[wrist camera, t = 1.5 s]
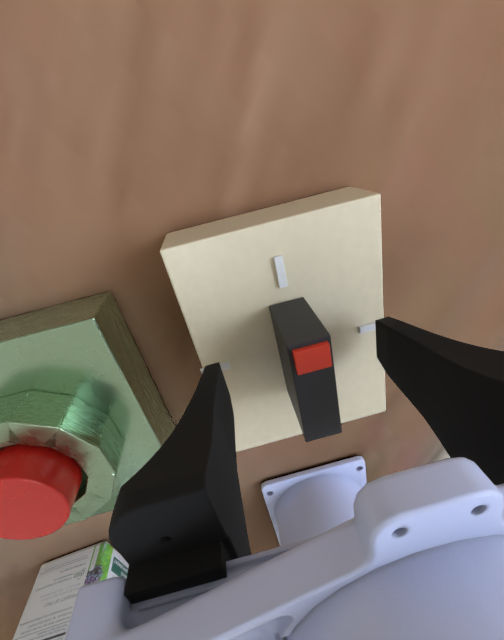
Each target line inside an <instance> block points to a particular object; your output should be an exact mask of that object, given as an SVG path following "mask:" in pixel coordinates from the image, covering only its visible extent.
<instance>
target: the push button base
mask: <svg viewBox="0 0 504 640" xmlns="http://www.w3.org/2000/svg"><path fill="white" fill-rule="evenodd" d="M174 429H175V426H174V424H173V422H172V420H171V418H170V416H169V413H168V411H167V409H166V407H165V405H164V403H163V401H162V399H161V397H160V394H159V392H158V390H157V388H156V386H155V384H154V382H153V380H152V378H151V375H150V373H149V371H148V369H147V367H146V365H145V363H144V361H143V359H142V356H141V354H140V352H139V350H138V348H137V346H136V344H135V342H134V339H133V337H132V335H131V333H130V331H129V329H128V327H127V325H126V323H125V320H124V318H123V316H122V314H121V312H120V310H119V308H118V306H117V304H116V301H115V299H114V297H113V295H112V293H111V292H106V293H102V294H98V295H94V296H90V297H86V298H83V299H79V300H75V301H71V302H67V303H63V304H60V305H56V306H52V307H48V308H44V309H40V310H36V311H33V312H29V313H25V314H21V315H17V316H13V317H10V318H6V319H2V320H0V449H2V448H5V447H8V446H11V445H15V444H22V445H32V446H43V447H50V448H52V449H54V450H56V451H59V452H61V453H63V454H65V455H67V456H69V457H71V458H73V459H75V460H76V462H77V463H78V464H79V466H80V468H81V471H82V482H81V485H80V488H79V491H78V493H77V496H76V499H75V502H74V505H73V507H72V510H71V513H70V516H69V518H68V520H67V521H66V523H65V524H64V525H67V524H71V523H74V522H78V521H81V520H85V519H88V518H89V517H90V516H94V515H98V514H101V513H105V512H109V511H112V510H114V506H115V503H116V499H117V496H118V494H119V491H120V488H121V486H122V485H123V484H125V483H126V482H127V481H128V480H129V479H130V478H131V477H132V476H133V475H134V474H136V473H137V472H138V471H139V470H140V469H141V468H142V467H143V466H144V465H145V464H146V463H147V462H148V461H149V460H150V459H151V458H152V456H153V455H154V454H155V453H156V452H157V451H158V450H159V449H160V447H161V446H162V445H163V444H164V442H165V441H166V440H167V438H168V437H169V436H170V435H171V433H172V432H173V430H174Z"/></svg>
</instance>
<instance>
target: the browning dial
mask: <svg viewBox="0 0 504 640" xmlns="http://www.w3.org/2000/svg"><path fill="white" fill-rule="evenodd" d="M269 310H270V314H271V319H272V323H273V328H274V333H275V337H276V342H277V346H278V351H279V355H280V360H281V365H282V369H283V374H284V378H285V383H286V388H287V391H288V394H289V397H290V400H291V402H292V405H293V408H294V411H295V413H296V416H297V419H298V422H299V424H300V427H301V430H302V433H303V435H304V438H305V441H306V442H308V441H312V440H316V439H319V438H323V437H326V436H330V435H334V434H337V433H341V432H342V428H341V419H340V411H339V403H338V394H337V386H336V377H335V369H334V361H333V352H332V344H331V336H330V334H329V332H328V331H327V330H326V328H325V327H324V325H323V324H322V322H321V321H320V320H319V318H318V317H317V315H316V314H315V313H314V311H313V310H312V308H311V307H310V306H309V304H308V303H307V301H306V300H305V299H304V297H301V298H297V299H293V300H290V301H286V302H282V303H278V304H274V305H271V306H269Z"/></svg>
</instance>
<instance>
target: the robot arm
mask: <svg viewBox="0 0 504 640" xmlns="http://www.w3.org/2000/svg"><path fill="white" fill-rule="evenodd" d="M375 326H376V353H377V358H378V360H379V362H380V363H381V365H382V367H383V368H384V370H385V371H386V373H387V374H388V376H389V377H390V378H391V379H392V380H393V382H394V383H395V384H396V385H397V386H398V387H399V389H400V390H401V391H402V392H403V393H404V394H405V396H406V397H407V398H408V399H409V400H410V401H411V403H412V404H413V405H414V406H415V407H416V408H417V410H418V411H419V412H420V413H421V415H422V416H423V417H424V418H425V420H426V421H427V423H428V424H429V426H430V427H431V428H432V430H433V431H434V433H435V434H436V436H437V437H438V439H439V440H440V442H441V443H442V445H443V446H444V448H445V450H446V451H447V453H448V454H449V456H450V457H451V458H447V459H443V460H439V461H436V462H432V463H429V464H425V465H422V466H418V467H414V468H411V469H407V470H404V471H400V472H396V473H393V474H389V475H386V476H382V477H379V478H377V479H375V480H373V481H371V482H368V483H367V481H366V467H365V461H364V459H363V457H362V456H355V457H351V458H348V459H344V460H341V461H337V462H333V463H330V464H326V465H323V466H319V467H315V468H312V469H308V470H304V471H301V472H297V473H294V474H290V475H286V476H283V477H279V478H276V479H272V480H268V481H265V482H263V483H262V485H261V490H262V493H263V496H264V499H265V502H266V505H267V508H268V511H269V514H270V517H271V520H272V523H273V526H274V529H275V532H276V535H277V538H278V541H279V544H280V547H276V548H272V549H269V550H265V551H262V552H258V553H255V554H251V552H250V546H249V540H248V535H247V529H246V523H245V517H244V511H243V505H242V499H241V492H240V486H239V479H238V473H237V463H236V444H235V424H234V413H233V407H232V402H231V396H230V393H229V390H228V387H227V384H226V381H225V378H224V375H223V372H222V369H221V366H220V363H219V362H217V363H214V364H210V365H206V366H205V368H204V370H203V373H202V376H201V378H200V381H199V383H198V386H197V388H196V390H195V393H194V395H193V397H192V399H191V401H190V403H189V405H188V407H187V409H186V411H185V413H184V414H183V416H182V418H181V419H180V421H179V423H178V424H177V426H176V427H175V429H174V430H173V432H172V433H171V435H170V436H169V437H168V438H167V440H166V441H165V442H164V444H163V445H162V446H161V447H160V449H159V450H158V451H157V452H156V453H155V454H154V455H153V456H152V458H151V459H150V460H149V461H148V462H147V463H146V464H145V465H144V466H143V467H142V468H141V469H140V470H139V471H138V472H137V473H136V474H134V475H133V476H132V477H131V478H130V479H129V480H128V481H127V482H126V483H125V484H123V485H122V486H121V488H120V491H119V494H118V496H117V499H116V503H115V506H114V510H113V514H112V518H111V522H110V527H109V539H110V541H111V543H112V545H113V546H114V547H115V548H116V549H117V551H118V552H119V553H120V554H121V556H122V557H123V558H124V559H125V561H126V562H127V563H128V564H129V568H128V573H127V579H126V578H124V577H112V578H109V579H105V580H102V581H98V582H94V583H91V584H87V585H84V586H82V587H80V588H79V590H78V594H77V597H76V601H75V605H74V608H73V612H72V616H71V619H70V623H69V626H68V630H67V634H66V637H65V640H504V351H498V350H492V349H488V348H483V347H479V346H474V345H470V344H466V343H463V342H459V341H456V340H452V339H449V338H446V337H443V336H440V335H437V334H434V333H431V332H428V331H426V330H423V329H420V328H418V327H415V326H413V325H410V324H407V323H405V322H402V321H399V320H397V319H394V318H391V317H386V318H382V319H378V320H375Z"/></svg>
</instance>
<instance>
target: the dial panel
mask: <svg viewBox="0 0 504 640" xmlns="http://www.w3.org/2000/svg"><path fill="white" fill-rule="evenodd" d="M160 254H161V256H162V259H163V262H164V265H165V267H166V270H167V273H168V275H169V278H170V281H171V284H172V286H173V289H174V292H175V294H176V297H177V300H178V303H179V305H180V308H181V311H182V313H183V316H184V319H185V322H186V324H187V327H188V330H189V332H190V335H191V338H192V341H193V343H194V346H195V349H196V351H197V354H198V357H199V360H200V362H201V365H202V368H200V371H201V374H202V373H203V370H204V368H205V366H206V365H210V364H214V363H217V362H219V363H220V366H221V369H222V372H223V375H224V378H225V381H226V384H227V387H228V390H229V393H230V396H231V402H232V407H233V413H234V424H235V444H236V452H238V451H242V450H245V449H249V448H253V447H256V446H260V445H264V444H267V443H271V442H275V441H278V440H282V439H286V438H289V437H293V436H297V435H300V434H303V433H302V430H301V427H300V424H299V422H298V419H297V416H296V413H295V411H294V408H293V405H292V402H291V400H290V397H289V394H288V391H287V388H286V383H285V378H284V374H283V369H282V365H281V360H280V355H279V351H278V346H277V342H276V337H275V333H274V328H273V323H272V319H271V314H270V310H269V306H271V305H274V304H278V303H282V302H286V301H290V300H293V299H297V298H301V297H304V299H305V300H306V301H307V303H308V304H309V306H310V307H311V308H312V310H313V311H314V313H315V314H316V315H317V317H318V318H319V320H320V321H321V322H322V324H323V325H324V327H325V328H326V330H327V331H328V332H329V334H330V336H331V344H332V352H333V361H334V369H335V377H336V386H337V394H338V403H339V411H340V419H341V423H344V422H348V421H351V420H355V419H359V418H362V417H366V416H370V415H373V414H377V413H380V412H384V411H386V401H385V370H384V368H383V367H382V365H381V363H380V362H379V360H378V358H377V353H376V326H375V320H378V319H382V318H383V279H382V238H381V198H380V194H379V193H375V192H371V191H367V190H362V189H358V188H354V187H345V188H341V189H337V190H334V191H330V192H326V193H322V194H318V195H314V196H310V197H306V198H303V199H299V200H295V201H291V202H287V203H283V204H279V205H275V206H271V207H268V208H264V209H260V210H256V211H252V212H248V213H244V214H240V215H236V216H233V217H229V218H225V219H221V220H217V221H213V222H209V223H205V224H202V225H198V226H194V227H190V228H186V229H182V230H178V231H174V232H170V233H167V234H166V237H165V239H164V242H163V244H162V247H161V249H160Z"/></svg>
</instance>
